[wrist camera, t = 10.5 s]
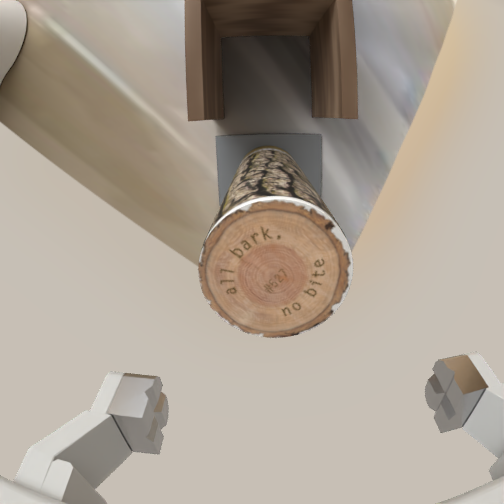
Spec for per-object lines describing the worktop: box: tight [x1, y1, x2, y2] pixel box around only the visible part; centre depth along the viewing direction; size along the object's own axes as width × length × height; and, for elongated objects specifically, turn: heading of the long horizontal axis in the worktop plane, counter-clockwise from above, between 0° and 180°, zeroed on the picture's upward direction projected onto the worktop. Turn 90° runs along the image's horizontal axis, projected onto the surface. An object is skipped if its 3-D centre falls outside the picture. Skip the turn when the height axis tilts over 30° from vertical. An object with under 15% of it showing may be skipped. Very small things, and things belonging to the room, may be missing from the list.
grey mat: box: [216, 134, 321, 206], centre depth 37 cm, size 12×10×1 cm
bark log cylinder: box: [198, 146, 353, 338], centre depth 25 cm, size 7×7×25 cm
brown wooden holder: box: [185, 0, 358, 121], centre depth 26 cm, size 12×11×14 cm
